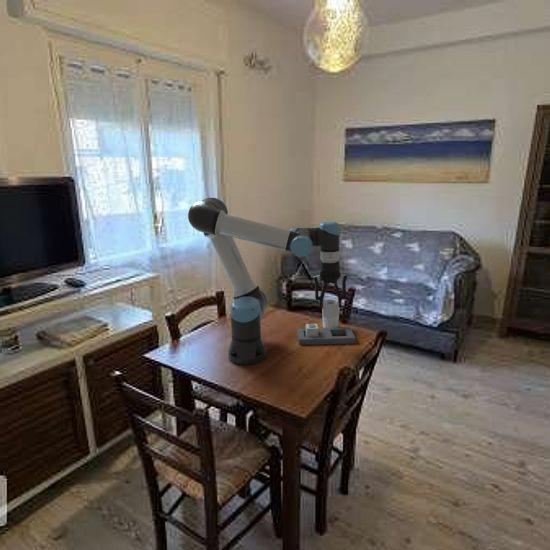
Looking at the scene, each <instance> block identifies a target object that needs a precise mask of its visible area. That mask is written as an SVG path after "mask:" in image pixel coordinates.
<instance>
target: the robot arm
mask: <svg viewBox="0 0 550 550" xmlns="http://www.w3.org/2000/svg"><path fill="white" fill-rule="evenodd" d="M187 218H188V222H189V224H190V226H191V227H192V228H193V229H195V230H196V231H198V232H201V233H203V235H204V237H206V238H209V239H210V241H211V244H212V246H213V247H214V249H215V252H216V254H217V256H218V258H219V260H220V263H221V265H222V267H223V269H224V272H225V273H226V276H227V278H228V280H229V282H230V284H231V286H232V289H233V293H232V297H233V299H234V300H233V301H232V302H231V303H230V310H229V314H230V328H231V329H230V331H231V341H230V344H229V347H228V351H227V352H228V354H227V356H228V360H230V361H231V362H232V363H233V364H237V365H241V366H242V365H243V366H246V365H247V366H248V365H255V364H257V363H258V364H259V363H260V362H262V361H263V360H264V359H265V358H266V356H267V351H266V347H265V344H264V342H263V339H262V326H261V325H262V324H261V323H262V319H263V316H264V314H265V313H266V311H267V308H268V297H267V295H266V293H265V292H264V291H263V290H262V289H261V288H260V286H259V284H258V283H256V282H254V281H253V279H252V277H251V275H250V273H249V271H248V268H247V266H246V263H245V262H244V260H243V258H242V257H243V256H242V254H241V252H240V250H239V248H238V245H237V243H236V241H235V240H234V238H235V239H239V240H243V241H247V242H251V243H255V244H257V245H262V246H266V247H271V248H275V249H279V250H281V251H286V252H288V253H292V254H293V256H296V257H297V258H304V257H307V256H308V255H309V254H310V253H311V251H312V249H313V248H314V247H315V248H317V247H318V248H319V249H320V273H319V274H318V275H313V280H314V298H315V300H316V301H319V308H320V309H321V310H322V313H323V316H325V301H324V300H325V299H324V297H325V294H326V290H327V286H328V285H329V284H333V286H334V289H335V292H336V297H337V298H336V299H335V300H336V302H337V316H339V317H340V309H339V308H342V301H343V300H345V299H346V298H347V292H346V291H347V286H346V284H347V279H348V276H347V274H346V273H344V274H343V273H341V271H340V268H341V267H340V224H339V222H336V221H330V220H329V221H322V222H320V223H319V227H296V228H294V227H293V228H290V230H289V229H284V228H282V227H278V226H273V225H269V224H265V223H262V222H258V221H254V220H250V219H247V218H242V217H239V216H234V215H230V214H229V211H228V208H227V205H226V204H225V203H224V201H223V200H221V199H220V198H217V197H207V198H204V199H202V200H199V201H196V202H194V203H193V204H191V206H190V207H189V209H188V212H187ZM320 278H321V280H322V281H323V282H322V287H321V291H320V295H319V281H320ZM339 279H341V293H340V288H339V285H338V282H337V281H338V280H339ZM322 313H321V314H322Z"/></svg>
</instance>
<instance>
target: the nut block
mask: <svg viewBox="0 0 550 550" xmlns="http://www.w3.org/2000/svg"><path fill="white" fill-rule="evenodd" d="M324 301H325V318H337V302H336V299H328V300H325V299H324Z"/></svg>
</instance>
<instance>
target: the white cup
mask: <svg viewBox="0 0 550 550" xmlns="http://www.w3.org/2000/svg"><path fill="white" fill-rule="evenodd" d="M339 310H340V308H339ZM321 314H322V328H339V319H340V315H339V316H337V318H325V316H323V313H321Z"/></svg>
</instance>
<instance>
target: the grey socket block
mask: <svg viewBox="0 0 550 550" xmlns="http://www.w3.org/2000/svg"><path fill="white" fill-rule="evenodd" d="M296 332H297V333H296V335H297V339H298V345H300V346H301V345H302V346H304V345H334V344H335V345H337V344H341V345H342V344H356V337H355V334H354V332H353V331H352V328H351V327H350V326H349V327H348V326H346V327H344V326H343V327H341V326H340V327H338V328H323V327H319V325H318V323H306V324H305V328H296ZM333 335H335V336H333ZM336 335H337V336H336ZM339 335H340V336H339Z"/></svg>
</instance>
